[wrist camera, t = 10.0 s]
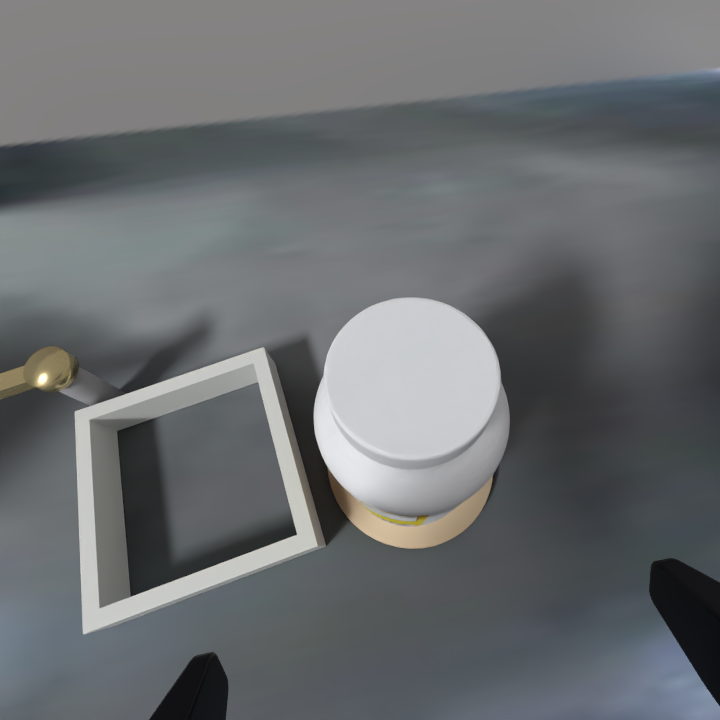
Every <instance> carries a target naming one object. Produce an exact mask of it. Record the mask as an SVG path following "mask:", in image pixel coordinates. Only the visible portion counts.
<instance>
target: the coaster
mask: <svg viewBox="0 0 720 720" xmlns="http://www.w3.org/2000/svg"><path fill="white" fill-rule="evenodd" d="M327 468H328V467H327ZM328 476H329V481H330V485H331V488H332V491H333V494H334V496H335V499H336V501H337V502H338V504H339V506H340V508H341V509H342V511H343V512H344V513H345V515H346V516H347V517H348V519H349V520H350V521H351V522H352V523H353V524H354V525H355V526H356V527H357V528H359V529H360V530H361V531H363V532H364V533H365V534H367V535H368V536H370V537H372V538H374V539H375V540H378V541H380V542H382V543H385V544H388V545H391V546H395V547H401V548H425V547H431V546H435V545H438V544H441V543H444V542H446V541H448V540H450V539H452V538H454V537H456V536H457V535H458V534H460V533H461V532H463V531H464V530H465V529H466V528H467V527H468V526H469V525H470V524H471V523H472V522H473V521H474V520H475V519H476V517H477V516H478V515H479V514H480V512H481V510H482V508H483V507H484V505H485V503H486V500H487V498H488V495H489V493H490V489H491V485H492V479H493V475H492V476H491V478H490V479H489V480H488V481H487V482H486V484H485V485H484V486H483V487H482V488H481V489H480V490H479V491H477V492H476V493H475V494H474V495H472V496H471V497H470V498H468V499H467V500H465V501H464V502H463V503H461V504H460V505H459V506H458V507H457V508H455V509H454V510H453V511H451V512H450V513H449V514H447V515H446V516H444V517H443V518H441V519H439V520H437V521H435V522H432V523H430V524H426V525H421V526H413V527H411V526H400V525H395V524H391V523H388V522H386V521H383V520H381V519H379V518H378V517H376V516H374V515H373V514H371V513H370V512H369V511H368V510H366V509H365V508H364V507H363V506H362V505H361V504H360V503H359V502H358V501H357V500H356V499H355V498H354V497H353V496H352V495H351V494H350V493H349V492H348V491H347V490H346V489H345V488H344V487H343V486H342V485H341V484H340V483H339V482H338V481H337V479H336V478H335V477H334V476H333V474H332V473H331V471H330V470H329V468H328Z"/></svg>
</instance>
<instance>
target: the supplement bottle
mask: <svg viewBox="0 0 720 720" xmlns="http://www.w3.org/2000/svg"><path fill="white" fill-rule="evenodd" d="M509 427H510V414H509V406H508V401H507V396H506V393H505V390H504V387H503V385H502V383H501V371H500V366H499V361H498V357H497V354H496V352H495V349H494V347H493V345H492V343H491V342H490V340H489V339H488V337H487V336H486V334H485V333H484V332H483V330H482V329H481V328H480V327H479V326H478V325H477V324H476V323H475V322H474V321H473V320H472V319H470V318H469V317H468V316H467V315H465V314H464V313H462V312H461V311H459V310H458V309H456V308H454V307H452V306H449V305H447V304H445V303H442V302H439V301H435V300H431V299H426V298H410V297H409V298H397V299H392V300H387V301H384V302H381V303H378V304H375V305H373V306H371V307H369V308H367V309H365V310H363V311H362V312H360V313H359V314H357V315H356V316H355V317H353V318H352V319H351V320H350V321H349V322H348V323H347V324H346V325H345V326H344V327H343V328H342V329H341V331H340V332H339V333H338V334H337V336H336V338H335V339H334V341H333V343H332V345H331V347H330V349H329V352H328V355H327V358H326V363H325V368H324V376H323V378H322V380H321V383H320V385H319V388H318V391H317V395H316V399H315V405H314V430H315V436H316V440H317V443H318V446H319V449H320V452H321V455H322V457H323V459H324V461H325V463H326V465H327V467H328V468H329V470H330V471H331V473H332V474H333V476H334V477H335V478H336V479H337V481H338V482H339V483H340V484H341V485H342V486H343V487H344V488H345V489H346V490H347V491H348V492H349V493H350V494H351V495H352V496H353V497H354V498H355V499H356V500H357V501H358V502H359V503H360V504H361V505H362V506H363V507H364V508H365V509H366V510H368V511H369V512H370V513H371V514H373V515H374V516H376V517H378V518H379V519H381V520H383V521H386V522H388V523H391V524H395V525H400V526H411V527H413V526H421V525H426V524H430V523H432V522H435V521H437V520H439V519H441V518H443V517H444V516H446V515H447V514H449V513H450V512H451V511H453V510H454V509H455V508H457V507H458V506H459V505H460V504H461V503H463V502H464V501H465V500H467V499H468V498H470V497H471V496H472V495H474V494H475V493H476V492H477V491H479V490H480V489H481V488H482V487H483V486H484V485H485V484H486V482H487V481H488V480H489V479H490V478H491V476H492V475H493V473H494V472H495V470H496V469H497V467H498V465H499V463H500V461H501V459H502V457H503V454H504V452H505V449H506V445H507V441H508V436H509Z"/></svg>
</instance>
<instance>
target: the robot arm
mask: <svg viewBox="0 0 720 720" xmlns="http://www.w3.org/2000/svg"><path fill="white" fill-rule="evenodd" d="M649 592H650V596H651V599H652V601H653V603H654V605H655V606H656V608H657V610H658V611H659V613H660V614H661V616H662V618H663V619H664V621H665V622H666V624H667V626H668V627H669V629H670V630H671V632H672V634H673V635H674V637H675V638H676V640H677V642H678V643H679V645H680V646H681V648H682V650H683V651H684V653H685V655H686V656H687V658H688V659H689V661H690V663H691V664H692V666H693V667H694V669H695V671H696V672H697V674H698V675H699V677H700V678H701V680H702V681H703V683H704V684H705V686H706V687H707V689H708V690H709V692H710V693H711V695H712V696H713V697H714V699H715V700H716V702H717V703H718V704H719V706H720V582H718V581H716V580H714V579H712V578H710V577H709V576H707V575H705V574H703V573H701V572H699V571H698V570H696V569H694V568H692V567H690V566H688V565H686V564H685V563H683V562H681V561H679V560H676V559H673V558H668V559H663V560H658V561H654V562H653V563H652V564H651V571H650V585H649ZM227 700H228V679H227V676H226V674H225V672H224V669H223V667H222V665H221V663H220V661H219V658H218V656H217V655H216V654H215V653H214V652H210V653H205V654H200V655H197V656H195V657H193V658H192V659H191V661H190V662H189V663H188V665H187V666H186V668H185V669H184V670H183V672H182V673H181V675H180V676H179V678H178V679H177V680H176V682H175V683H174V685H173V686H172V688H171V689H170V690H169V692H168V693H167V695H166V696H165V698H164V699H163V700H162V702H161V703H160V705H159V706H158V708H157V709H156V711H155V712H154V713H153V715H152V716H151V718H150V719H149V720H226V710H227Z"/></svg>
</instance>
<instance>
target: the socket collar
mask: <svg viewBox="0 0 720 720" xmlns="http://www.w3.org/2000/svg"><path fill="white" fill-rule="evenodd" d="M257 382H259V386H260V390H261V394H262V398H263V402H264V406H265V410H266V414H267V418H268V422H269V426H270V430H271V434H272V438H273V441H274V445H275V449H276V453H277V457H278V461H279V465H280V469H281V473H282V477H283V481H284V485H285V489H286V493H287V497H288V501H289V505H290V509H291V513H292V516H293V520H294V524H295V528H296V532H297V535H295V536H292V537H290V538H287V539H284V540H282V541H279V542H276V543H273V544H271V545H268V546H265V547H263V548H260V549H257V550H255V551H252V552H249V553H247V554H244V555H241V556H239V557H236V558H233V559H231V560H228V561H225V562H223V563H220V564H217V565H215V566H212V567H209V568H207V569H204V570H201V571H199V572H196V573H193V574H190V575H188V576H185V577H182V578H180V579H177V580H174V581H172V582H169V583H166V584H164V585H161V586H158V587H156V588H153V589H150V590H148V591H145V592H142V593H140V594H137V595H134V596H132V597H131V593H130V581H129V569H128V557H127V545H126V533H125V521H124V509H123V497H122V485H121V473H120V461H119V449H118V437H117V431H119V430H122V429H124V428H127V427H130V426H133V425H136V424H139V423H142V422H145V421H148V420H150V419H153V418H156V417H159V416H162V415H165V414H168V413H171V412H173V411H176V410H179V409H182V408H185V407H188V406H191V405H194V404H197V403H199V402H202V401H205V400H208V399H211V398H214V397H217V396H220V395H222V394H225V393H228V392H231V391H234V390H237V389H240V388H243V387H246V386H248V385H251V384H254V383H257ZM59 392H61V393H63V394H65V395H68V396H70V397H72V398H74V399H76V400H78V401H81V402H83V403H85V404H87V405H89V406H90V407H87V408H84V409H81V410H78V411H75V432H76V458H77V485H78V511H79V538H80V565H81V591H82V618H83V634H86V633H90V632H94V631H97V630H101V629H105V628H108V627H112V626H116V625H119V624H121V623H124V622H127V621H129V620H132V619H135V618H137V617H140V616H143V615H145V614H148V613H150V612H153V611H156V610H158V609H161V608H164V607H166V606H169V605H172V604H174V603H177V602H180V601H182V600H185V599H188V598H190V597H193V596H196V595H198V594H201V593H204V592H206V591H209V590H212V589H214V588H217V587H219V586H222V585H225V584H227V583H230V582H233V581H235V580H238V579H241V578H243V577H246V576H249V575H251V574H254V573H257V572H259V571H262V570H265V569H267V568H270V567H273V566H275V565H278V564H280V563H283V562H286V561H288V560H291V559H294V558H296V557H299V556H302V555H304V554H307V553H310V552H312V551H315V550H318V549H320V548H323V547H326V544H325V540H324V537H323V533H322V529H321V526H320V522H319V519H318V515H317V511H316V508H315V504H314V501H313V497H312V494H311V490H310V486H309V483H308V479H307V476H306V472H305V468H304V465H303V461H302V458H301V454H300V451H299V447H298V443H297V440H296V436H295V433H294V429H293V425H292V422H291V418H290V415H289V411H288V407H287V404H286V400H285V397H284V393H283V390H282V386H281V382H280V379H279V375H278V372H277V368H276V364H275V363H274V361H273V360H272V358H271V357H270V355H269V354H268V352H267V351H266V349H265V348H264V347H262V348H259V349H256V350H253V351H251V352H248V353H245V354H242V355H239V356H236V357H233V358H230V359H227V360H224V361H221V362H218V363H215V364H212V365H210V366H207V367H204V368H201V369H198V370H195V371H192V372H189V373H186V374H183V375H180V376H177V377H174V378H171V379H169V380H166V381H163V382H160V383H157V384H154V385H151V386H148V387H145V388H142V389H139V390H136V391H133V392H130V393H128V394H127V393H125V392H123V391H122V390H120V389H118V388H116V387H114V386H113V385H111V384H109V383H107V382H106V381H104V380H102V379H100V378H99V377H97V376H95V375H93V374H92V373H90V372H88V371H86V370H85V369H83V368H81V367H79V371H78V374H77V376H76V378H75V379H74V381H73V382H72V383H71V384H70V385H69V386H68V387H66V388H65V389H63V390H61V391H59Z"/></svg>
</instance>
